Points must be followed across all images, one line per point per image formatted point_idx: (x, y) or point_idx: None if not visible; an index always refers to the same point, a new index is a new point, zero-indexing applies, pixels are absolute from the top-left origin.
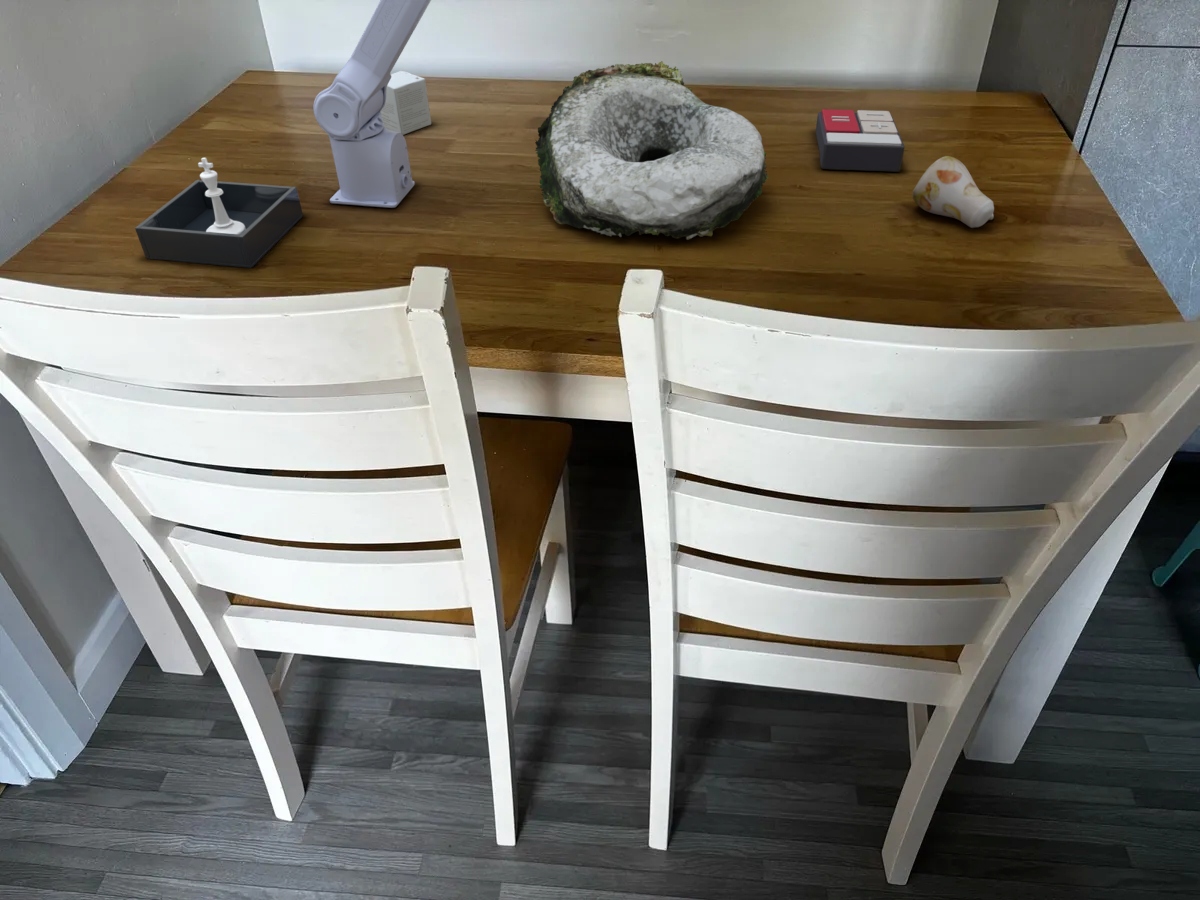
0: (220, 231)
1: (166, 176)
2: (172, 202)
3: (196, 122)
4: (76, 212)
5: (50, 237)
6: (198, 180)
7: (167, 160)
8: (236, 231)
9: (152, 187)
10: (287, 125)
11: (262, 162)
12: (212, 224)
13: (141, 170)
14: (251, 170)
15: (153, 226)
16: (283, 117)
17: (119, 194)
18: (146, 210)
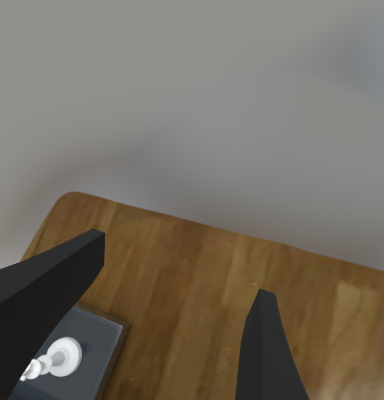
0: (50, 355)
1: (213, 269)
2: (76, 311)
3: (359, 271)
4: (150, 210)
5: (108, 203)
6: (120, 328)
7: (253, 262)
8: (51, 370)
9: (190, 262)
10: (347, 387)
11: (235, 368)
12: (89, 338)
13: (232, 242)
14: (214, 358)
15: None
16: (375, 378)
17: (180, 235)
18: (140, 268)
